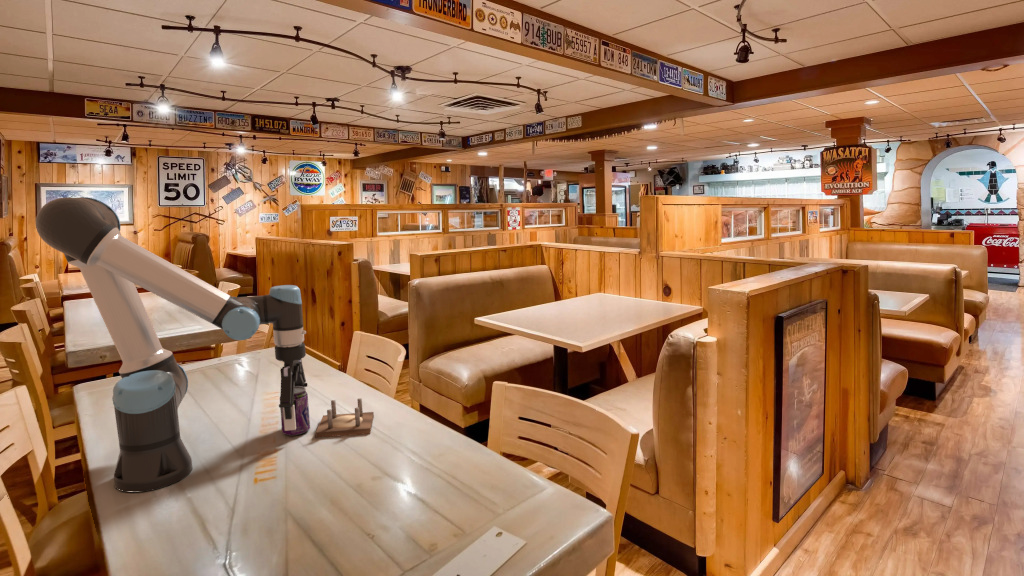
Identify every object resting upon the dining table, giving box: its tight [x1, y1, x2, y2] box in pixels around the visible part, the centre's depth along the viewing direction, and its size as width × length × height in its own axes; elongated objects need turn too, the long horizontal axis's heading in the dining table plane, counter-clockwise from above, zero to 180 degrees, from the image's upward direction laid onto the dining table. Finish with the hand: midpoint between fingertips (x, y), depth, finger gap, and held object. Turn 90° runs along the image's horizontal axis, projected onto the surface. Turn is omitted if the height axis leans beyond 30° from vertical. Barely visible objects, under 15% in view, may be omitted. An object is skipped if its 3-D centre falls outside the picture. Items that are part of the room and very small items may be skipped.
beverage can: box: [279, 386, 311, 437], centre depth 151 cm, size 7×7×12 cm
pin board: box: [315, 397, 375, 439], centre depth 155 cm, size 12×14×6 cm
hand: (296, 419), depth 152 cm, fingers open, 13 cm apart
